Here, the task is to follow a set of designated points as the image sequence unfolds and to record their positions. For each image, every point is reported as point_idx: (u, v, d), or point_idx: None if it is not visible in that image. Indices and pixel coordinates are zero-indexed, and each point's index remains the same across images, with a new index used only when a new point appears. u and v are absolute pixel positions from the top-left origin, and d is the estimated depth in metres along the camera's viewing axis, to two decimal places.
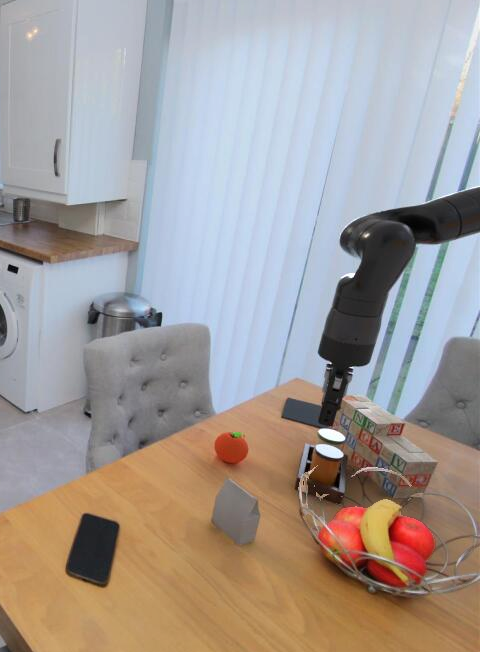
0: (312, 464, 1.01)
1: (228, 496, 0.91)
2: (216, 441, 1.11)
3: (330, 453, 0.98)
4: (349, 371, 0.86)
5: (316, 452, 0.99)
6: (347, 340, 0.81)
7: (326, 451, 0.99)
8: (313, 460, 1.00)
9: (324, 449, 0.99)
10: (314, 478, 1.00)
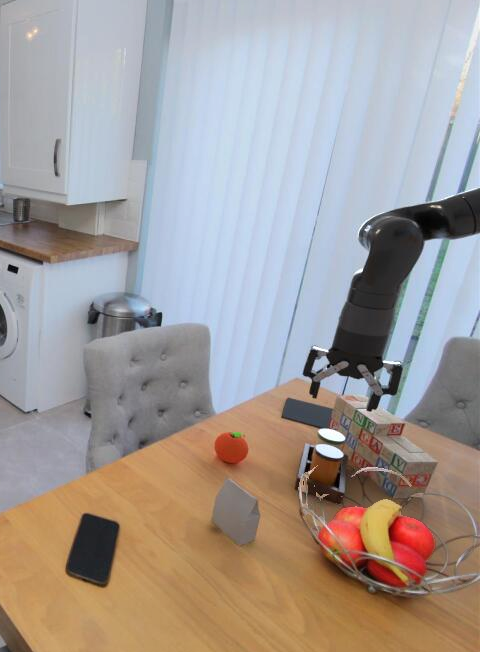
0: (312, 464, 1.01)
1: (228, 496, 0.91)
2: (216, 441, 1.11)
3: (330, 453, 0.98)
4: (358, 365, 0.88)
5: (316, 452, 0.99)
6: None
7: (326, 451, 0.99)
8: (313, 460, 1.00)
9: (324, 449, 0.99)
10: (314, 478, 1.00)
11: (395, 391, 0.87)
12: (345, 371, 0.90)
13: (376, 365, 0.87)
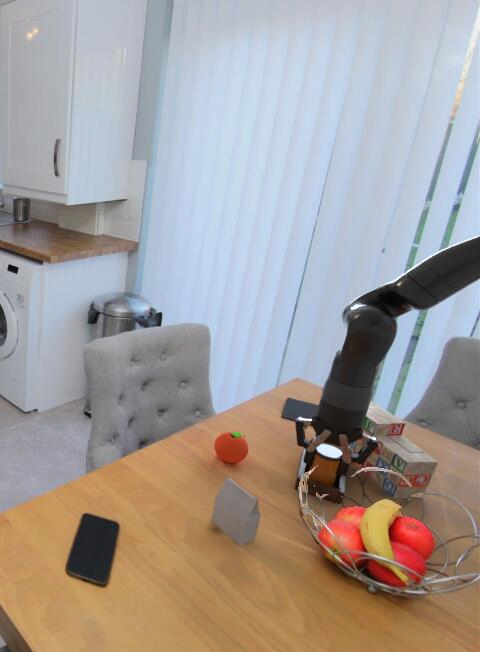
0: (312, 464, 1.01)
1: (228, 496, 0.91)
2: (216, 441, 1.11)
3: (330, 453, 0.98)
4: (339, 434, 0.95)
5: (316, 452, 0.99)
6: (322, 392, 0.96)
7: (326, 451, 0.99)
8: (313, 460, 1.00)
9: (324, 449, 0.99)
10: (314, 478, 1.00)
11: (362, 461, 0.95)
12: (328, 438, 0.97)
13: (356, 436, 0.94)
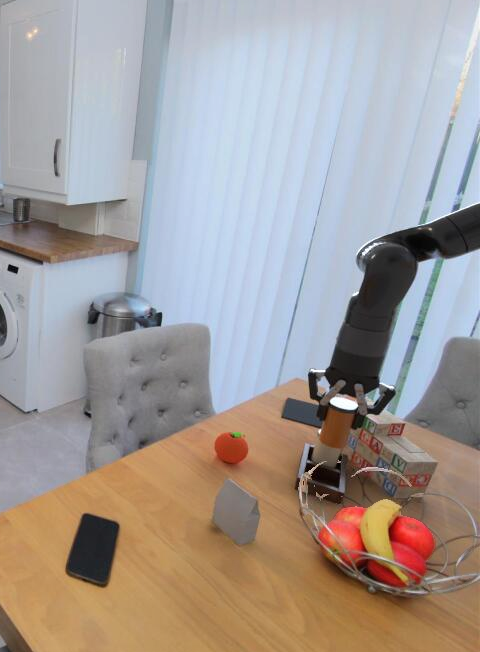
0: (325, 418, 0.97)
1: (228, 496, 0.91)
2: (216, 441, 1.11)
3: (344, 405, 0.94)
4: (354, 384, 0.91)
5: (330, 405, 0.95)
6: (336, 341, 0.92)
7: (340, 403, 0.94)
8: (326, 414, 0.96)
9: (338, 401, 0.95)
10: (328, 432, 0.96)
11: (379, 412, 0.90)
12: (342, 389, 0.93)
13: (372, 385, 0.90)
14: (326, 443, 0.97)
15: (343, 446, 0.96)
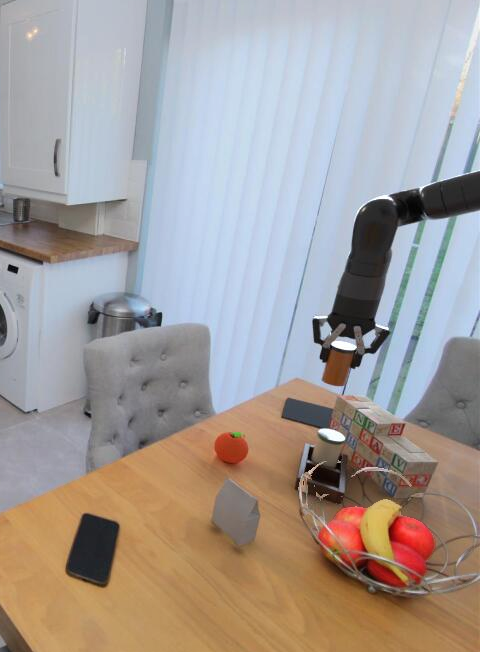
0: (327, 360, 1.09)
1: (228, 496, 0.91)
2: (216, 441, 1.11)
3: (345, 347, 1.06)
4: (354, 327, 1.03)
5: (331, 347, 1.07)
6: None
7: (341, 345, 1.07)
8: (328, 356, 1.08)
9: (339, 344, 1.07)
10: (329, 372, 1.08)
11: (375, 351, 1.03)
12: (343, 332, 1.05)
13: (369, 326, 1.02)
14: (327, 382, 1.09)
15: (343, 384, 1.08)
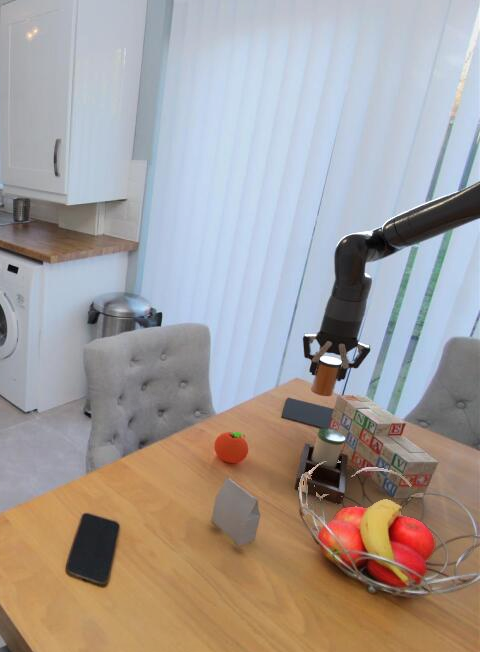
0: (316, 372, 1.23)
1: (228, 496, 0.91)
2: (216, 441, 1.11)
3: (331, 361, 1.20)
4: (339, 344, 1.17)
5: (320, 361, 1.21)
6: None
7: (328, 360, 1.20)
8: (317, 369, 1.22)
9: (327, 359, 1.21)
10: (318, 383, 1.22)
11: (357, 365, 1.16)
12: (329, 349, 1.19)
13: (352, 344, 1.16)
14: (316, 392, 1.23)
15: (330, 394, 1.22)
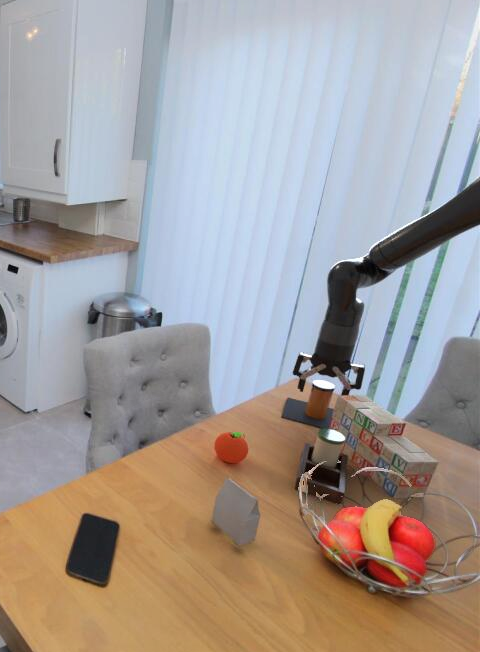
0: (310, 396, 1.25)
1: (228, 496, 0.91)
2: (216, 441, 1.11)
3: (324, 385, 1.22)
4: (332, 367, 1.20)
5: (313, 385, 1.24)
6: None
7: (321, 384, 1.23)
8: (311, 392, 1.25)
9: (320, 383, 1.24)
10: (311, 407, 1.25)
11: (359, 386, 1.18)
12: (323, 371, 1.21)
13: (346, 367, 1.18)
14: (310, 415, 1.26)
15: (323, 417, 1.24)
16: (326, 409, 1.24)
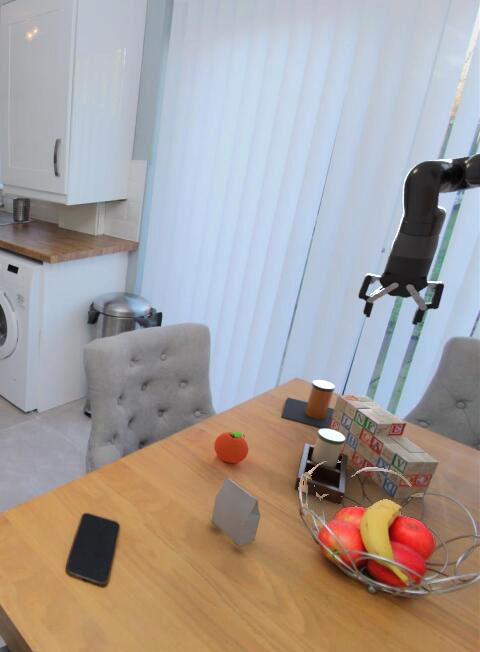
0: (310, 396, 1.25)
1: (228, 496, 0.91)
2: (216, 441, 1.11)
3: (324, 385, 1.22)
4: (406, 285, 1.09)
5: (313, 385, 1.24)
6: None
7: (321, 384, 1.23)
8: (311, 392, 1.25)
9: (320, 383, 1.24)
10: (311, 407, 1.25)
11: (437, 305, 1.07)
12: (395, 291, 1.11)
13: (422, 284, 1.08)
14: (310, 415, 1.26)
15: (323, 417, 1.24)
16: (326, 409, 1.24)
